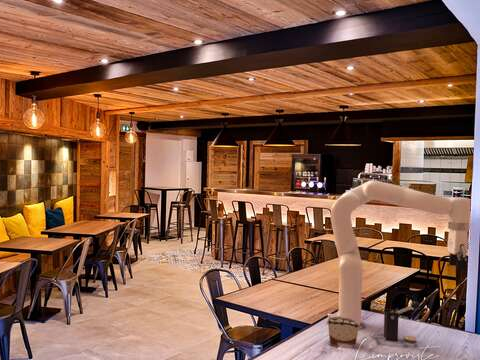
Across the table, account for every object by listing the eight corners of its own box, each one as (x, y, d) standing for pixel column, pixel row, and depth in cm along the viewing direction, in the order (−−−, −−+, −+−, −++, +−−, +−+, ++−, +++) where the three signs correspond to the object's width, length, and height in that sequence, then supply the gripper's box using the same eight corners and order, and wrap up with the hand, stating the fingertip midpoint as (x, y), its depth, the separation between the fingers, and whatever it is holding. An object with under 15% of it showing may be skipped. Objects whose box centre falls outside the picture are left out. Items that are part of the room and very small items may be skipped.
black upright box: (402, 340, 191) (402, 309, 191) (406, 347, 184) (407, 315, 183) (375, 337, 194) (376, 307, 194) (378, 344, 186) (379, 312, 186)
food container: (358, 343, 187) (359, 318, 187) (359, 348, 181) (360, 323, 181) (325, 339, 191) (326, 315, 191) (326, 344, 185) (326, 319, 185)
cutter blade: (420, 306, 187) (416, 299, 187) (422, 308, 184) (418, 301, 184) (389, 319, 190) (385, 312, 191) (390, 321, 187) (386, 314, 188)
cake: (404, 345, 185) (404, 338, 185) (402, 341, 190) (402, 334, 190) (417, 347, 184) (417, 340, 184) (414, 343, 188) (415, 336, 188)
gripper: (442, 224, 204) (440, 263, 204) (455, 228, 187) (453, 270, 187) (461, 225, 202) (460, 264, 202) (476, 229, 185) (475, 272, 185)
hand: (457, 267), depth 195 cm, fingers open, 9 cm apart
